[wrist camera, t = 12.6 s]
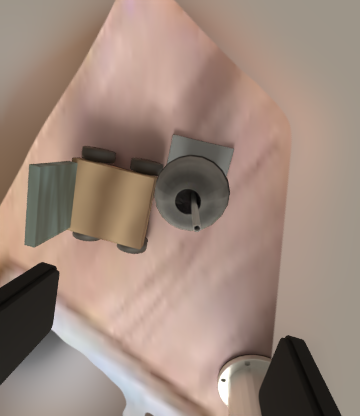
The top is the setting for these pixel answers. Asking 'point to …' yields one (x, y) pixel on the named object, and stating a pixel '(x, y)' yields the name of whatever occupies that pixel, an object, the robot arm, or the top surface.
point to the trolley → (91, 200)
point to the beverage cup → (191, 192)
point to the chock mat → (200, 151)
